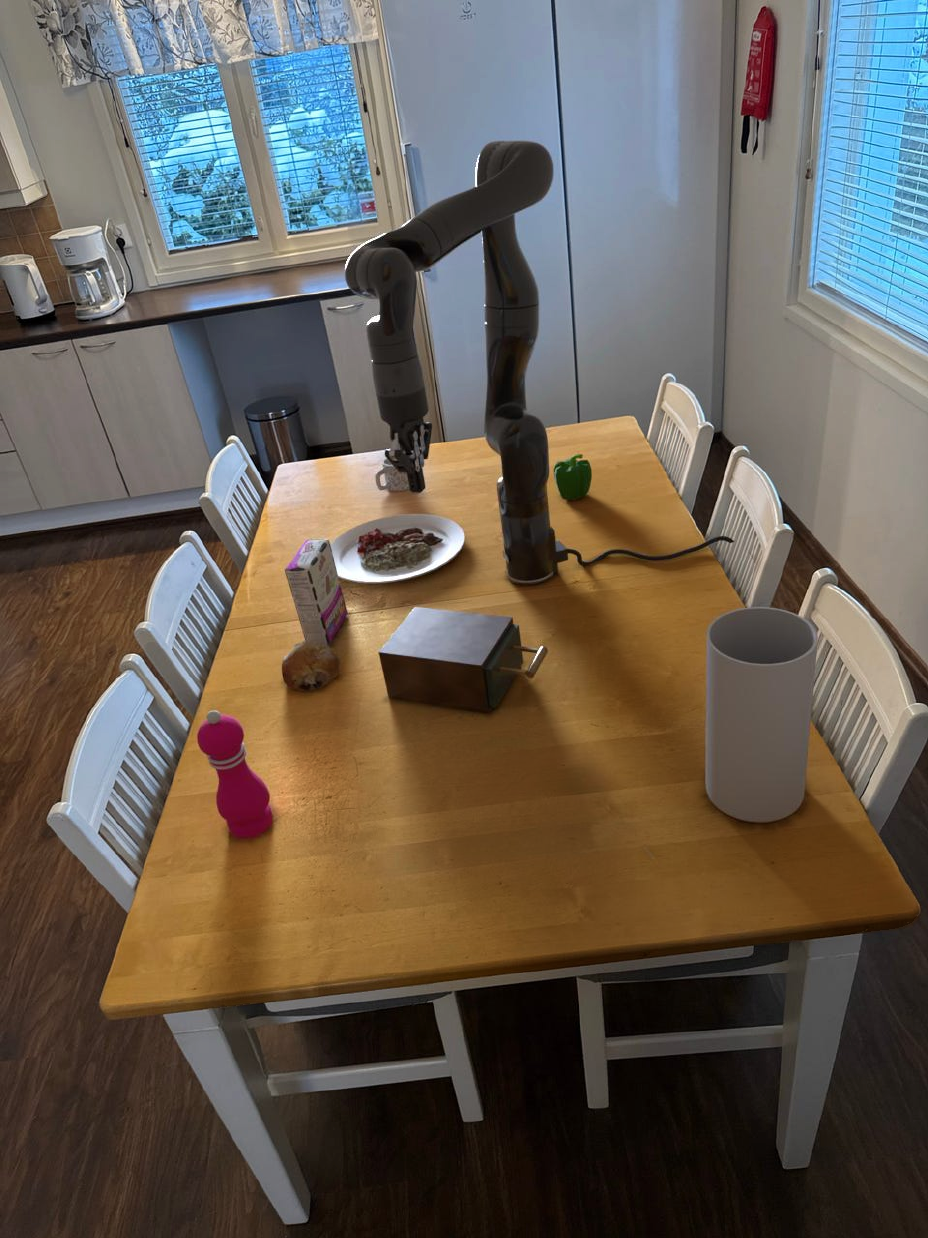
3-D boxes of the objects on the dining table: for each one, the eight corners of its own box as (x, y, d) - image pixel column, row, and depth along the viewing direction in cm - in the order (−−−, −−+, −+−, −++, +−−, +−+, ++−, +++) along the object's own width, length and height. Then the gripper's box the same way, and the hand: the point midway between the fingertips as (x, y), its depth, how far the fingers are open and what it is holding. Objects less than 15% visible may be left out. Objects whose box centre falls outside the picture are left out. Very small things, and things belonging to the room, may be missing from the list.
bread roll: (350, 684, 161) (350, 639, 159) (321, 696, 151) (321, 648, 150) (301, 679, 164) (300, 635, 163) (269, 690, 154) (269, 644, 153)
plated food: (437, 593, 176) (434, 578, 174) (301, 585, 186) (297, 571, 185) (484, 523, 200) (482, 509, 198) (361, 519, 210) (358, 506, 208)
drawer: (556, 666, 149) (552, 628, 145) (531, 713, 140) (526, 674, 136) (433, 650, 158) (427, 614, 154) (402, 693, 148) (394, 656, 145)
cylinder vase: (698, 816, 118) (698, 659, 105) (713, 754, 128) (715, 603, 115) (799, 833, 114) (813, 671, 101) (807, 767, 123) (821, 611, 110)
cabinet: (518, 663, 153) (512, 617, 148) (488, 714, 142) (481, 665, 138) (423, 651, 160) (414, 606, 155) (388, 698, 149) (378, 652, 145)
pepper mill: (229, 809, 132) (189, 699, 121) (279, 801, 132) (242, 691, 121) (222, 845, 126) (179, 733, 115) (274, 837, 126) (235, 724, 115)
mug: (402, 477, 228) (397, 452, 224) (418, 483, 223) (414, 458, 220) (370, 492, 222) (365, 467, 219) (387, 498, 218) (382, 472, 214)
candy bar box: (324, 613, 176) (305, 538, 167) (348, 613, 174) (330, 537, 166) (304, 646, 166) (282, 568, 158) (329, 646, 165) (309, 568, 157)
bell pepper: (548, 501, 205) (544, 459, 199) (566, 486, 210) (563, 445, 205) (581, 506, 200) (578, 464, 195) (598, 491, 206) (596, 449, 200)
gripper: (402, 401, 131) (421, 510, 141) (439, 371, 141) (455, 474, 151) (357, 401, 134) (379, 507, 144) (396, 372, 144) (414, 473, 153)
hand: (418, 490), depth 147 cm, fingers closed
